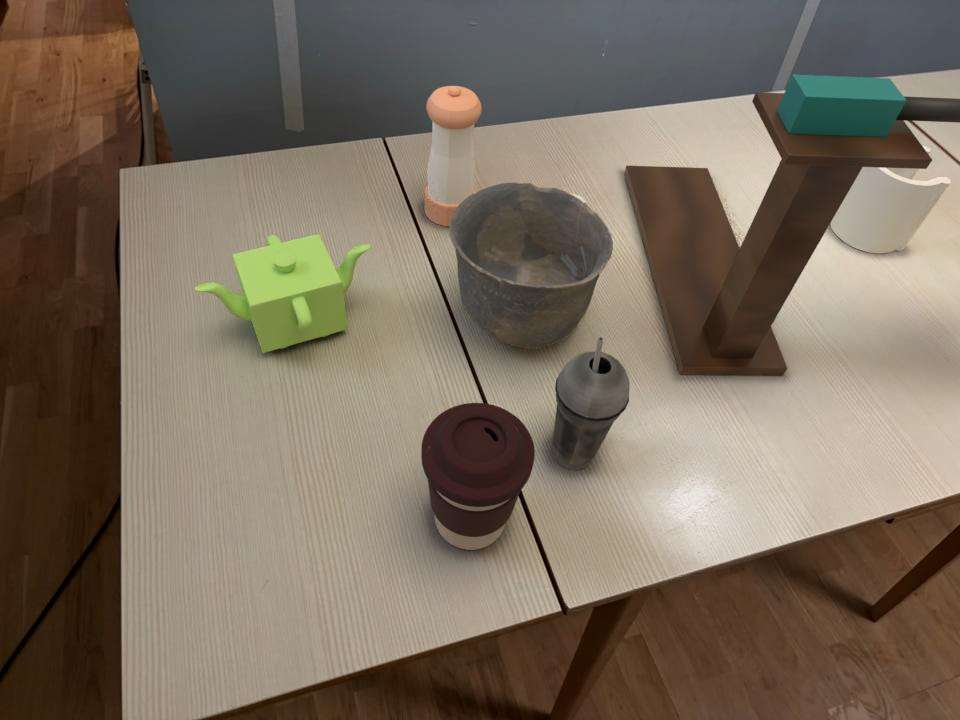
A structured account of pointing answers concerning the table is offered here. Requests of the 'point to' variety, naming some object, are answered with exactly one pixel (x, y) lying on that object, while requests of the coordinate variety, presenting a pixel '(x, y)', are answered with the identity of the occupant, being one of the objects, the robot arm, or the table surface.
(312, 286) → the teapot
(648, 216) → the headphone stand
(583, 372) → the beverage cup
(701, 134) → the table surface
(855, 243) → the white rounded piece
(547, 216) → the bowl
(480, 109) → the pepper shaker
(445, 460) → the coffee cup
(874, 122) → the teal block with handle
